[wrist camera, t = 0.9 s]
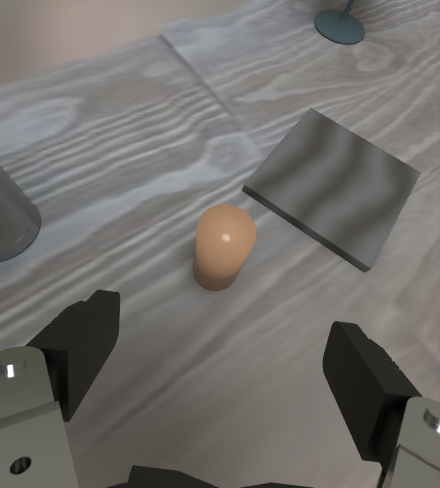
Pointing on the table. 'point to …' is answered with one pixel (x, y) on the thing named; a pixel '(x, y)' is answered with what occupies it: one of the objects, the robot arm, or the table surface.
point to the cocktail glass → (340, 26)
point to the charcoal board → (334, 187)
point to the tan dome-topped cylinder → (222, 246)
